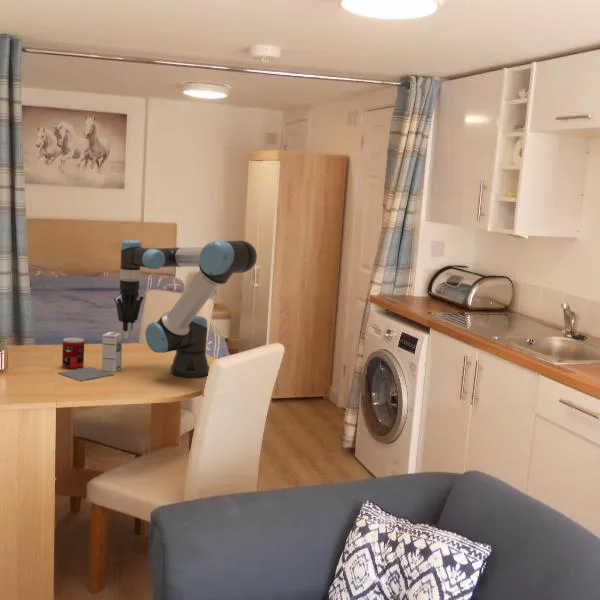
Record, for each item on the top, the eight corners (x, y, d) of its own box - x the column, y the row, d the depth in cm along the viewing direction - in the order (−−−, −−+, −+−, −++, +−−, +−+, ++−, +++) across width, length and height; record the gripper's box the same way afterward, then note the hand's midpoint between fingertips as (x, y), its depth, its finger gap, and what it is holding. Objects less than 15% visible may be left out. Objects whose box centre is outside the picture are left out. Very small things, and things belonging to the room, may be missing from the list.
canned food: (60, 365, 288) (61, 337, 287) (81, 364, 292) (82, 337, 290) (64, 369, 282) (64, 341, 280) (85, 368, 285) (86, 341, 284)
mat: (113, 375, 279) (113, 374, 279) (81, 381, 267) (81, 380, 267) (90, 367, 287) (90, 366, 287) (57, 373, 275) (57, 372, 275)
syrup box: (115, 372, 284) (116, 335, 282) (101, 370, 285) (102, 333, 282) (121, 368, 289) (122, 332, 287) (107, 367, 290) (108, 331, 288)
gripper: (136, 277, 295) (133, 335, 299) (110, 279, 285) (107, 338, 288) (148, 280, 291) (146, 338, 294) (122, 282, 280) (120, 342, 284)
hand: (127, 338), depth 291 cm, fingers closed
